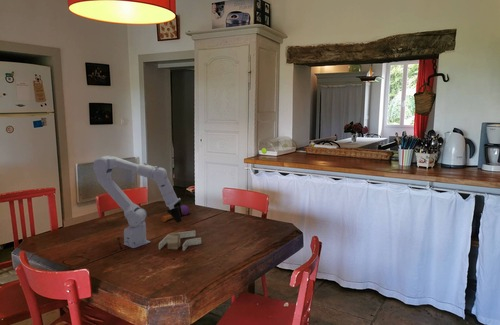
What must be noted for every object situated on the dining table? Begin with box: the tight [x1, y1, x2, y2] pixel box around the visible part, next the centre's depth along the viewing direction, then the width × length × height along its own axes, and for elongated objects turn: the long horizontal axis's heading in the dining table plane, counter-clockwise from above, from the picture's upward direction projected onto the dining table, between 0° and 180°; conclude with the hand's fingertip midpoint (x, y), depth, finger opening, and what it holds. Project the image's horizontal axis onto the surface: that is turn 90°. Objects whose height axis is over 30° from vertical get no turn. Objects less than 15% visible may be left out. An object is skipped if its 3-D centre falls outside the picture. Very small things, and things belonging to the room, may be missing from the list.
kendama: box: [160, 204, 190, 223], centre depth 209 cm, size 6×6×20 cm
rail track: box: [158, 230, 202, 252], centre depth 168 cm, size 22×17×3 cm
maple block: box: [166, 232, 181, 250], centre depth 163 cm, size 4×4×6 cm
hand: (180, 219), depth 167 cm, fingers open, 7 cm apart
